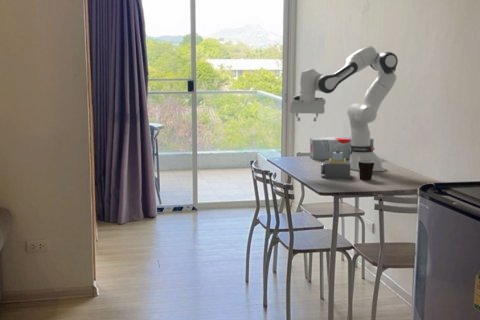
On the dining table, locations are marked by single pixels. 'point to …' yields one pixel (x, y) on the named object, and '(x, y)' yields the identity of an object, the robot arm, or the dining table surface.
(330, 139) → the soda pack
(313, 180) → the dining table surface
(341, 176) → the dark grey toaster
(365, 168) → the coffee mug
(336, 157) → the light blue block
